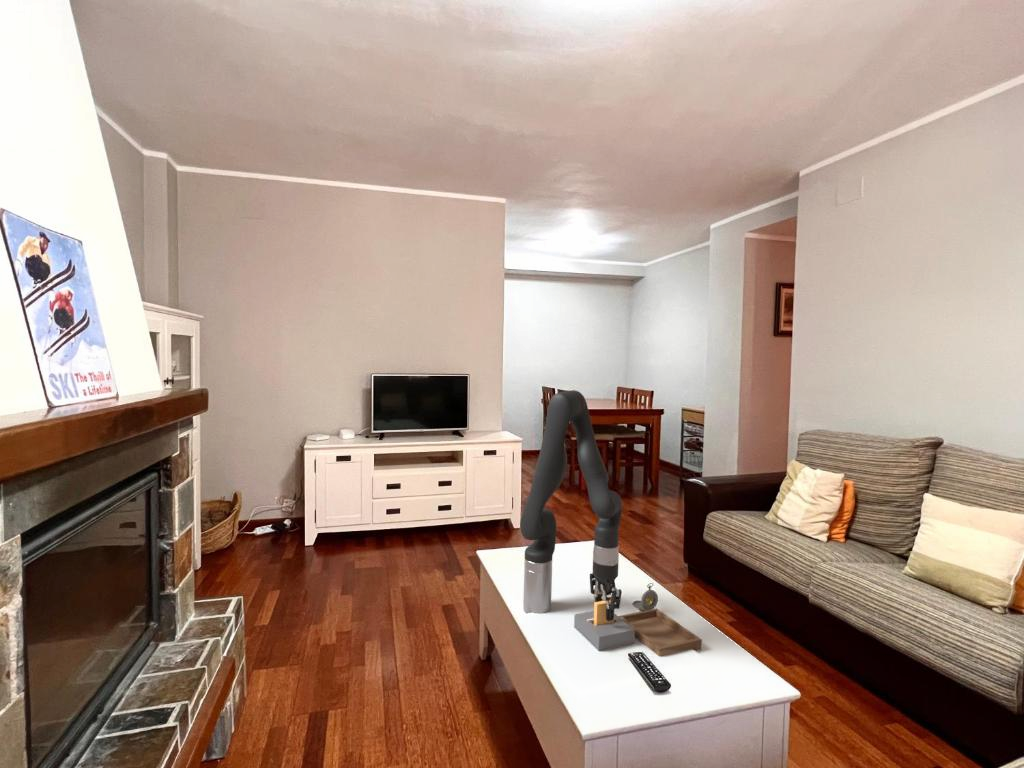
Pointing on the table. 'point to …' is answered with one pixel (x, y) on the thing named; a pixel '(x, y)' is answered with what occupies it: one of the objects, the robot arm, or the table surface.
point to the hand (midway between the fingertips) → (604, 615)
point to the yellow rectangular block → (600, 613)
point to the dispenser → (604, 631)
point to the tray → (661, 632)
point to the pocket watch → (647, 600)
